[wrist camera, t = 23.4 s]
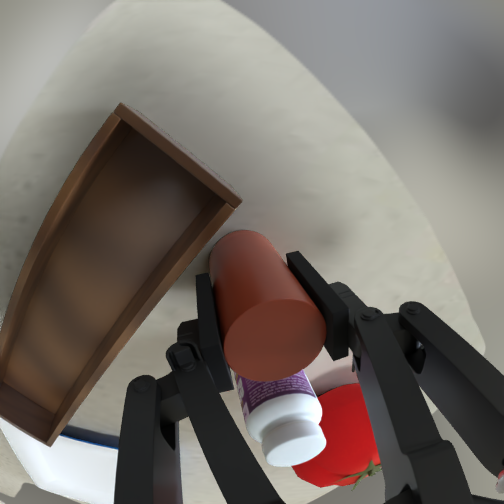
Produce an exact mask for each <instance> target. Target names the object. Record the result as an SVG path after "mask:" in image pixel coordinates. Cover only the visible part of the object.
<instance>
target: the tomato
mask: <svg viewBox="0 0 504 504" xmlns="http://www.w3.org/2000/svg"><path fill="white" fill-rule="evenodd" d="M317 399H318V401H319V403H320V405H321V408H322V416H321V420H320V422H319V424H318V425H319V426H320V427H321V429H322V432H323V435H324V437H325V439H326V446H325V448H324V449H323V450H322V451H321V452H320V453H319V454H318V455H316V456H315V457H314V458H312V459H310V460H308V461H306V462H303V463H300V464H297V465H293V466H292V468H293V470H294V471H295V473H296V474H297V476H298V477H299V478H301V479H302V480H304V481H307V482H309V483H311V484H313V485H316V486H318V487H320V488H321V487H326V486H331V485H339V486H345V485H350V484H354V483H356V484H355V486H354V488H353V489H355V487H356V486H357V485H358V483H359V482H360V480H362V479H363V478H365V477H367V476H368V475H369V476H372V475H374V474H375V472H378V471H380V470H382V468H381V469H380V467H382V466H381V462H380V458H379V454H378V450H377V446H376V442H375V438H374V434H373V430H372V426H371V423H370V419H369V415H368V411H367V408H366V404H365V401H364V397H363V394H362V390H361V387H360V384H358V383H355V384H348V385H343V386H340V387H338V388H335V389H332V390H330V391H328V392H326V393H325V394H323V395H321V396H319V397H317Z"/></svg>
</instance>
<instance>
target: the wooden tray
mask: <svg viewBox="0 0 504 504" xmlns="http://www.w3.org/2000/svg"><path fill="white" fill-rule="evenodd" d="M113 112H114V113H112V114H111V115H110V116H109V117H108V119H107V120H106V121H105V123H104V124H103V125H102V127H101V128H100V130H99V131H98V132H97V134H96V135H95V137H94V138H93V139H92V141H91V142H90V144H89V145H88V147H87V148H86V150H85V151H84V153H83V154H82V156H81V157H80V159H79V160H78V162H77V163H76V165H75V167H74V168H73V170H72V171H71V173H70V175H69V176H68V178H67V180H66V181H65V183H64V185H63V186H62V188H61V190H60V192H59V193H58V195H57V197H56V199H55V200H54V202H53V204H52V206H51V208H50V210H49V212H48V214H47V215H46V217H45V219H44V221H43V223H42V225H41V227H40V229H39V231H38V234H37V236H36V238H35V240H34V242H33V244H32V246H31V249H30V251H29V253H28V255H27V258H26V260H25V263H24V265H23V267H22V270H21V272H20V275H19V277H18V280H17V283H16V285H15V288H14V291H13V293H12V296H11V299H10V302H9V305H8V308H7V311H6V314H5V317H4V321H3V324H2V327H1V331H0V418H2V419H3V420H5V421H6V422H8V423H9V424H11V425H13V426H14V427H16V428H17V429H19V430H20V431H22V432H24V433H25V434H27V435H29V436H30V437H32V438H34V439H36V440H37V441H39V442H41V443H43V444H45V445H46V446H48V447H51V446H52V445H53V443H54V442H55V440H56V439H57V437H58V436H59V435H60V433H61V432H62V430H63V429H64V427H65V426H66V425H67V423H68V422H69V420H70V419H71V417H72V416H73V415H74V413H75V412H76V410H77V409H78V408H79V406H80V405H81V403H82V402H83V401H84V399H85V398H86V397H87V395H88V394H89V392H90V391H91V390H92V388H93V387H94V386H95V384H96V383H97V381H98V380H99V379H100V377H101V376H102V375H103V373H104V372H105V371H106V369H107V368H108V367H109V365H110V364H111V363H112V361H113V360H114V359H115V357H116V356H117V355H118V353H119V352H120V351H121V350H122V348H123V347H124V346H125V344H126V343H127V342H128V340H129V339H130V338H131V337H132V335H133V334H134V333H135V331H136V330H137V329H138V328H139V326H140V325H141V324H142V322H143V321H144V320H145V319H146V317H147V316H148V315H149V314H150V312H151V311H152V310H153V308H154V307H155V306H156V305H157V303H158V302H159V301H160V300H161V298H162V297H163V296H164V295H165V293H166V292H167V291H168V290H169V289H170V287H171V286H172V285H173V284H174V282H175V281H176V280H177V279H178V277H179V276H180V275H181V274H182V273H183V271H184V270H185V269H186V268H187V266H188V265H189V264H190V263H191V262H192V260H193V259H194V258H195V257H196V256H197V254H198V253H199V252H200V251H201V250H202V248H203V247H204V246H205V245H206V244H207V242H208V241H209V240H210V239H211V238H212V237H213V235H214V234H215V233H216V232H217V231H218V229H219V228H220V227H221V226H222V225H223V224H224V222H225V221H226V220H227V219H228V218H229V217H230V215H231V214H232V213H233V212H234V211H235V209H236V208H237V207H238V206H239V205H240V204H241V203H242V201H243V200H242V198H241V197H240V196H239V195H238V193H237V192H236V191H235V190H234V189H233V187H232V186H231V185H230V184H228V183H227V182H226V181H225V180H224V179H222V178H221V177H220V176H219V175H218V174H216V173H215V172H214V171H213V170H211V169H210V168H209V167H208V166H207V165H205V164H204V163H203V162H202V161H200V160H199V159H198V158H197V157H196V156H194V155H193V154H192V153H191V152H189V151H188V150H187V149H186V148H184V147H183V146H182V145H181V144H179V143H178V142H177V141H176V140H174V139H173V138H172V137H171V136H169V135H168V134H167V133H166V132H164V131H163V130H162V129H160V128H159V127H158V126H157V125H155V124H154V123H153V122H152V121H150V120H149V119H148V118H146V117H145V116H144V115H142V114H141V113H140V112H139V111H137V110H135V109H133V108H131V107H129V106H127V105H125V104H123V103H120V104H119V105H118V106H117V107H116V109H115V110H114V111H113Z"/></svg>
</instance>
